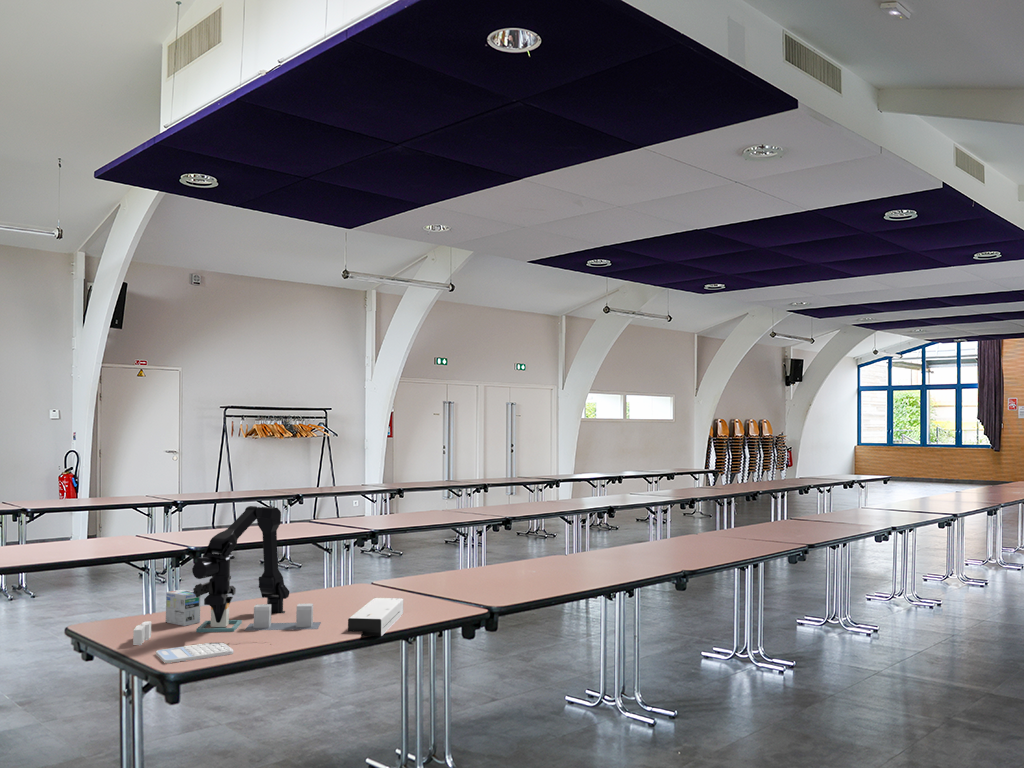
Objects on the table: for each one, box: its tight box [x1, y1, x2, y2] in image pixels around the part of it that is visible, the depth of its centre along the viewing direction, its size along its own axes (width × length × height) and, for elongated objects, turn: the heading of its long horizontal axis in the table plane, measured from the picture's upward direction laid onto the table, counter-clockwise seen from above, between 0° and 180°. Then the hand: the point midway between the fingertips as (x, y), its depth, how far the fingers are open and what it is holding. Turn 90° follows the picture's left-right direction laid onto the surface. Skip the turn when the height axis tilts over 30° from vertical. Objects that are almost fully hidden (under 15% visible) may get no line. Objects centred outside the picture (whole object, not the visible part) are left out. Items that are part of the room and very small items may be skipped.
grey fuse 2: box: [295, 603, 314, 627], centre depth 282 cm, size 4×5×7 cm
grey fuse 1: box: [253, 603, 272, 628], centre depth 280 cm, size 4×5×7 cm
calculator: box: [155, 642, 234, 664], centre depth 252 cm, size 13×20×2 cm, turn 125°
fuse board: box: [243, 621, 322, 632], centre depth 281 cm, size 10×24×2 cm, turn 96°
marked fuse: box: [210, 603, 230, 628], centre depth 279 cm, size 4×5×7 cm
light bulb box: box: [165, 589, 202, 627], centre depth 292 cm, size 11×7×11 cm, turn 59°
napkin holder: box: [132, 620, 152, 646], centre depth 267 cm, size 15×11×6 cm
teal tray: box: [195, 619, 242, 633], centre depth 279 cm, size 12×12×2 cm
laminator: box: [347, 597, 404, 637], centre depth 291 cm, size 34×12×6 cm, turn 175°
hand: (219, 620), depth 279 cm, fingers closed on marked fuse, 4 cm apart
